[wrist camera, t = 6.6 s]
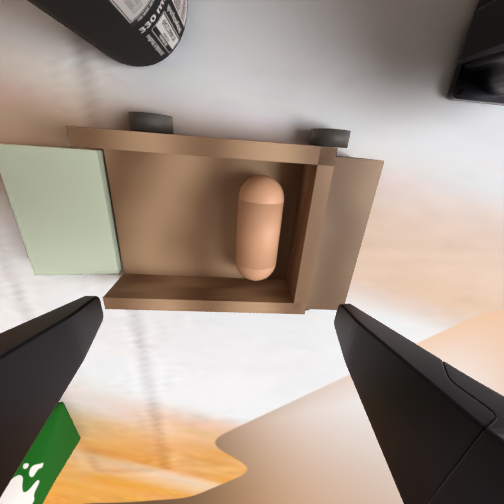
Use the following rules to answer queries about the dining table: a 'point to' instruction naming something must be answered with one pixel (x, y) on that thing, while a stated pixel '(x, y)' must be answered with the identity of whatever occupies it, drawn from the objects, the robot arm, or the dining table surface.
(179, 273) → the wooden drawer box
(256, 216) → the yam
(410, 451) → the robot arm
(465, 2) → the dining table surface
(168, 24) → the beverage can
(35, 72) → the dining table surface
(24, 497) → the milk carton
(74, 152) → the tailgate
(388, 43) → the dining table surface
